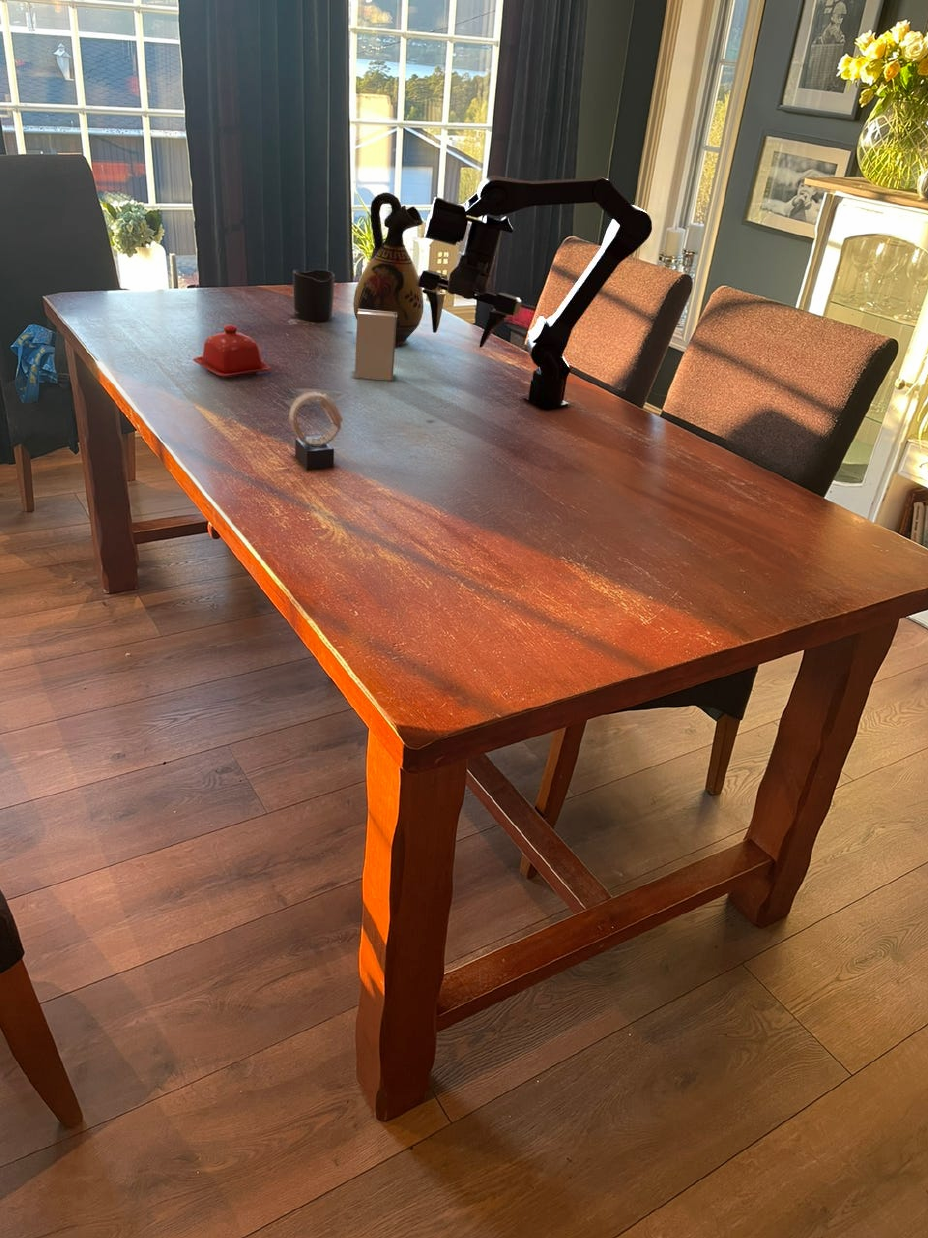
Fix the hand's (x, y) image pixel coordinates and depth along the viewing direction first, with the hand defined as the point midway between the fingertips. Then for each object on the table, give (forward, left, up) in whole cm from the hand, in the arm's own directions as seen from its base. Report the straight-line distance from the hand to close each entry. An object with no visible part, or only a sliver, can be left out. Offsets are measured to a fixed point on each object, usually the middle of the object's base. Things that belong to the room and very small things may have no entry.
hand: (457, 339), depth 174 cm
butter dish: (+31, -29, -11) cm, 44 cm away
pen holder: (-3, -59, -11) cm, 60 cm away
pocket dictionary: (+7, -16, -11) cm, 21 cm away
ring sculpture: (+40, +17, -11) cm, 45 cm away
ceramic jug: (-9, -38, -11) cm, 41 cm away
